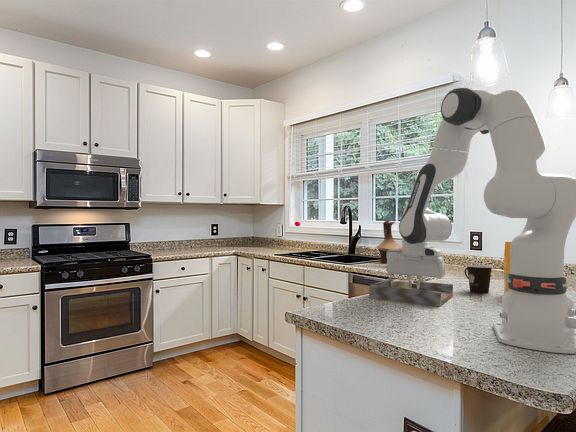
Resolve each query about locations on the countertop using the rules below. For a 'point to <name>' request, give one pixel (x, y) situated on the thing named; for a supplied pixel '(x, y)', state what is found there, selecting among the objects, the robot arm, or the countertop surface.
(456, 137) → the robot arm
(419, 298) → the grey tray
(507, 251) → the orange juice
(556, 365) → the countertop surface
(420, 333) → the countertop surface
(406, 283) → the birch block
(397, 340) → the countertop surface
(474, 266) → the coffee mug
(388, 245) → the brown vase
